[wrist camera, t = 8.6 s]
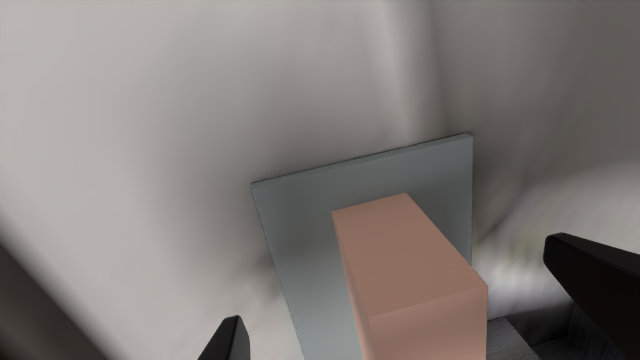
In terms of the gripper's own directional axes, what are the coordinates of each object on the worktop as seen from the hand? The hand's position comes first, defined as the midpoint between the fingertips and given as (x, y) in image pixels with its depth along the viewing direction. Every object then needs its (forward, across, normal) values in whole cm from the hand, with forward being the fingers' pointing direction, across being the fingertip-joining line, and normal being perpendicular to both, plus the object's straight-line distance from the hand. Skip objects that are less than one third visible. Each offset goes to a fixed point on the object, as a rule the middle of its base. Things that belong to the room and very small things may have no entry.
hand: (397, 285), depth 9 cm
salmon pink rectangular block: (+2, 0, +3) cm, 4 cm away
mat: (+2, 0, +4) cm, 4 cm away
